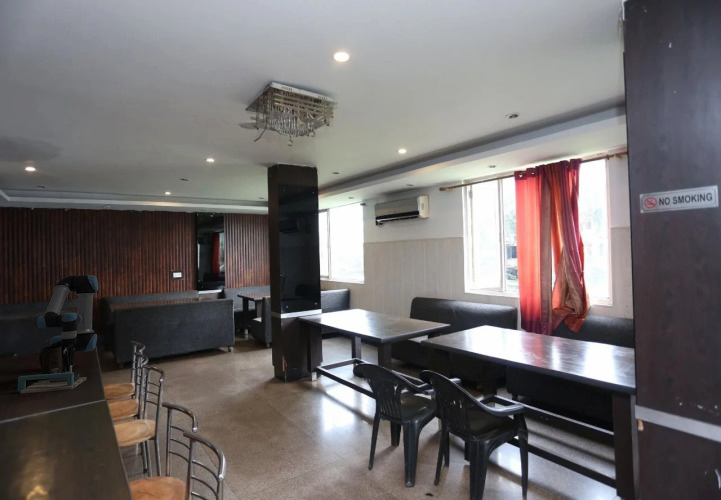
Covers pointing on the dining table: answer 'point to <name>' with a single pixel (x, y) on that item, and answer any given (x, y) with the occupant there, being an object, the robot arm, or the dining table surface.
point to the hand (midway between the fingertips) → (68, 376)
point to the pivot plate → (51, 385)
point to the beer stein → (50, 360)
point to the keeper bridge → (44, 376)
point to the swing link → (64, 378)
